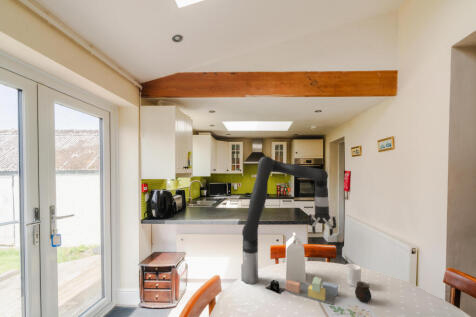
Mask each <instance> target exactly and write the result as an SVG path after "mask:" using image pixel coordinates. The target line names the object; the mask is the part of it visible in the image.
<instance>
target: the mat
mask: <svg viewBox="0 0 476 317" xmlns="http://www.w3.org/2000/svg"><path fill="white" fill-rule="evenodd" d="M295 282H297V281H295ZM298 282H299V281H298ZM299 283H300V292H299V293H295V292H292V291H288V293H289V294H292V295H295V296H300V297H303V298H306V299H309V300H313V301H317V302H320V303H321V302H322V303H324V304H328V305H332V306H333V305H334V303H335V298H336V295H332V294H328V293H326V298H325V301H323V300H320V299H316V298H313V297H309V296H308V287H309V285H310V284H308V283H305V282H299Z"/></svg>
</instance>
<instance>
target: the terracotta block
mask: <svg viewBox="0 0 476 317" xmlns="http://www.w3.org/2000/svg"><path fill="white" fill-rule="evenodd" d="M300 283H301V282H300ZM300 283H299V281H296V282H295V281H291V280H285V291H288V292H289V291H292V292H295V293H299V292H300Z"/></svg>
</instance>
